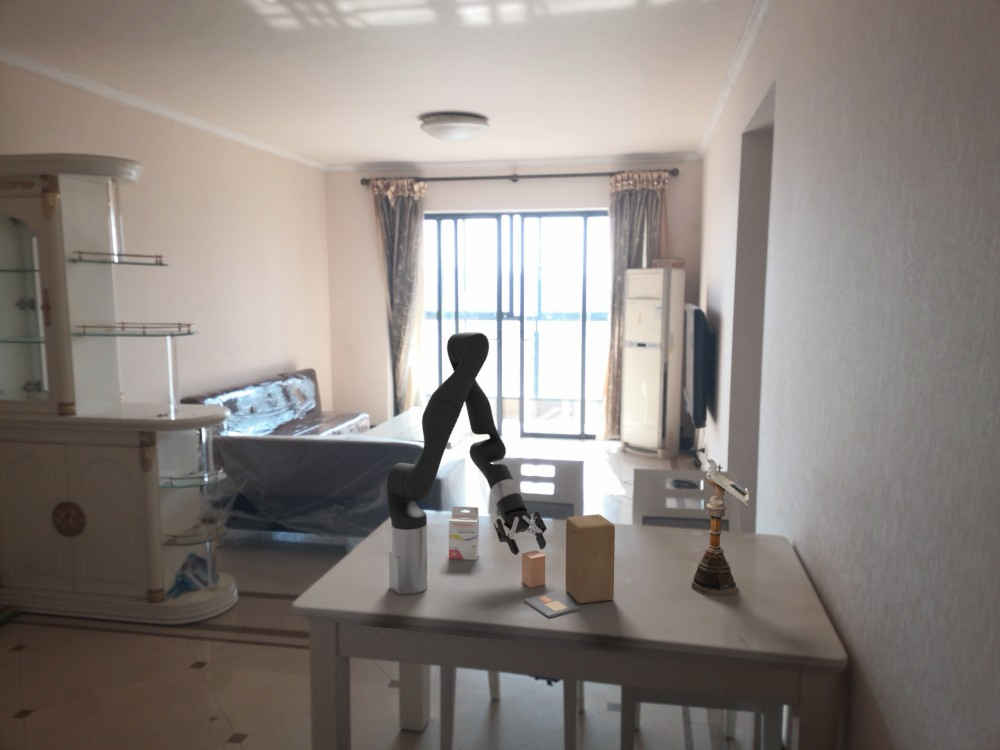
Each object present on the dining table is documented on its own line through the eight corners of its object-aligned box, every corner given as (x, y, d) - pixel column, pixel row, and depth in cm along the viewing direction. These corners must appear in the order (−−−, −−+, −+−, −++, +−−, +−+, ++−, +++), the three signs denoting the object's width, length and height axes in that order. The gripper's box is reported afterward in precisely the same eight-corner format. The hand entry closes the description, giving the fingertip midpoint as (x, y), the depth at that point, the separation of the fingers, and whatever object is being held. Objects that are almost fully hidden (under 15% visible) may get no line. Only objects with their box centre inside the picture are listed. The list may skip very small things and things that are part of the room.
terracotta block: (531, 587, 185) (531, 558, 184) (521, 581, 189) (522, 553, 188) (545, 584, 188) (545, 555, 187) (535, 578, 191) (536, 550, 191)
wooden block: (578, 605, 174) (579, 527, 172) (564, 589, 184) (564, 515, 182) (615, 601, 177) (616, 524, 175) (599, 585, 187) (600, 512, 184)
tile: (548, 617, 167) (548, 615, 167) (523, 601, 177) (523, 598, 177) (578, 609, 172) (578, 606, 172) (553, 593, 181) (553, 591, 181)
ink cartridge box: (448, 559, 206) (448, 510, 204) (451, 553, 211) (450, 505, 209) (477, 560, 205) (477, 511, 204) (479, 554, 210) (479, 506, 208)
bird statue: (756, 582, 189) (761, 455, 185) (756, 601, 177) (761, 466, 173) (693, 574, 195) (697, 450, 191) (688, 592, 182) (692, 460, 179)
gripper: (491, 496, 192) (513, 549, 183) (534, 488, 199) (557, 539, 190) (481, 509, 197) (502, 562, 188) (524, 502, 204) (546, 552, 195)
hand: (530, 550), depth 189 cm, fingers open, 8 cm apart
